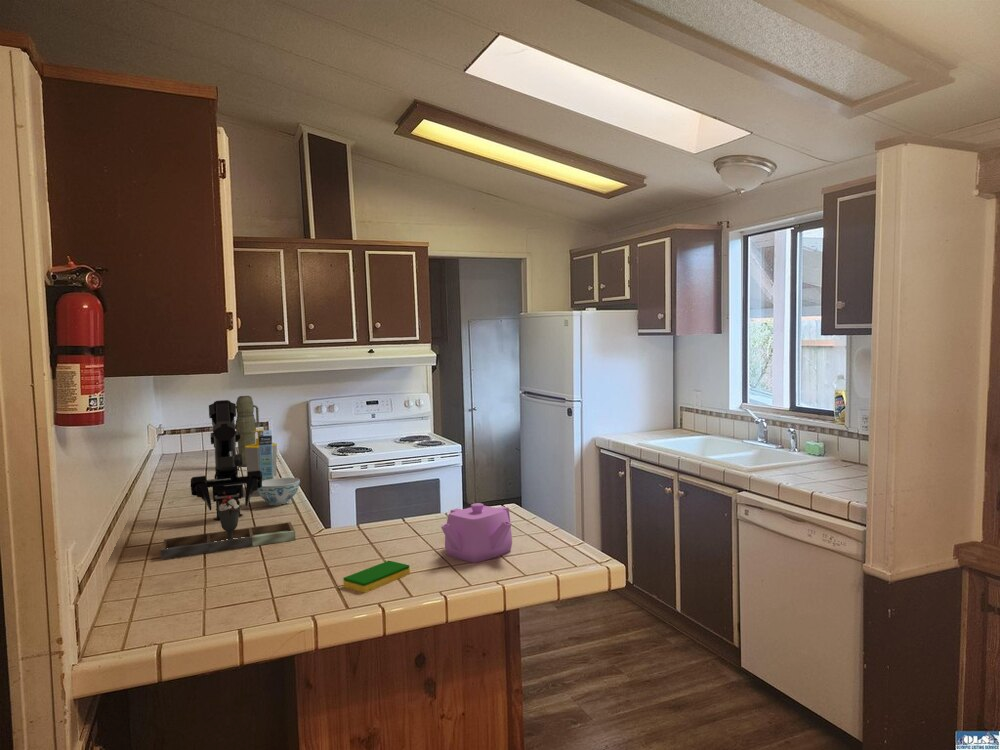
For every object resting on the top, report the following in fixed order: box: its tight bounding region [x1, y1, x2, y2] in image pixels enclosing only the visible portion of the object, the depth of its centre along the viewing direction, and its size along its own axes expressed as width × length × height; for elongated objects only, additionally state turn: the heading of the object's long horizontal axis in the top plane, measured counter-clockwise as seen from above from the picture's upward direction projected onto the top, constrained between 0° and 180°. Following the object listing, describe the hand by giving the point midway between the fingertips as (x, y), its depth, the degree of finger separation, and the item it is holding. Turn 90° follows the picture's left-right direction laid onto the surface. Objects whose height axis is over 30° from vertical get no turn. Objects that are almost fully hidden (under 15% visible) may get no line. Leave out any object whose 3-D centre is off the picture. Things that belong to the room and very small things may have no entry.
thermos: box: [234, 395, 260, 468], centre depth 304 cm, size 9×12×35 cm
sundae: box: [215, 492, 242, 540], centre depth 176 cm, size 7×7×15 cm
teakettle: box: [440, 502, 513, 564], centre depth 159 cm, size 17×17×12 cm
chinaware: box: [256, 477, 301, 506], centre depth 225 cm, size 15×15×8 cm
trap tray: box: [160, 521, 296, 560], centre depth 176 cm, size 33×12×2 cm, turn 114°
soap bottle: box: [245, 429, 278, 477], centre depth 276 cm, size 13×13×21 cm
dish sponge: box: [343, 560, 411, 593], centre depth 142 cm, size 7×14×2 cm, turn 143°
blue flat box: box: [259, 429, 274, 481], centre depth 248 cm, size 20×5×23 cm, turn 20°
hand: (228, 507), depth 177 cm, fingers open, 9 cm apart
